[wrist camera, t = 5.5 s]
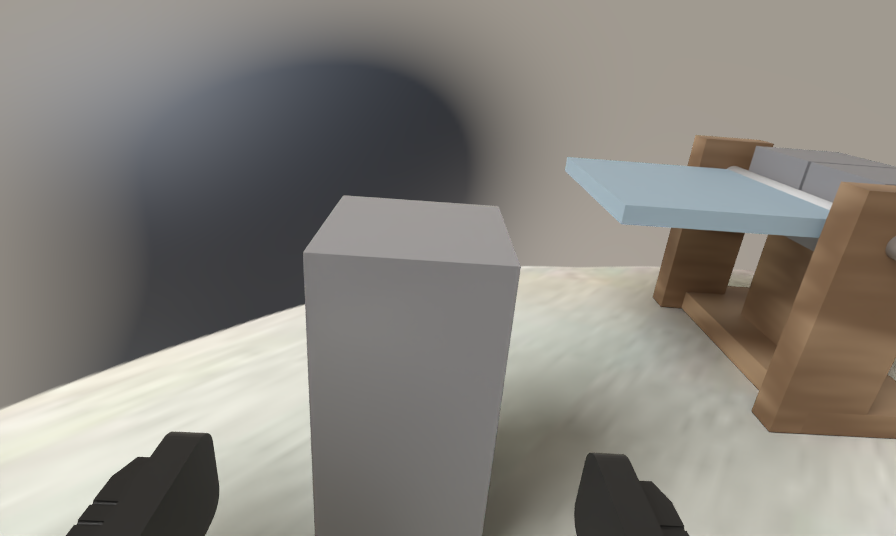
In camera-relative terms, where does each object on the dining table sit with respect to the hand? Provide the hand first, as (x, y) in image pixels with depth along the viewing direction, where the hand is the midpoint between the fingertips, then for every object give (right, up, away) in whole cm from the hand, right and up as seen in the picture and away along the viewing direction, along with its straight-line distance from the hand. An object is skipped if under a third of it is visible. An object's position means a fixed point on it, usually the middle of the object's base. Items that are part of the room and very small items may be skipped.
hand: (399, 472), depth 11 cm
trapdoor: (+16, +6, +15) cm, 22 cm away
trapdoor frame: (+19, 0, +18) cm, 26 cm away
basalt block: (-1, -4, +7) cm, 8 cm away
